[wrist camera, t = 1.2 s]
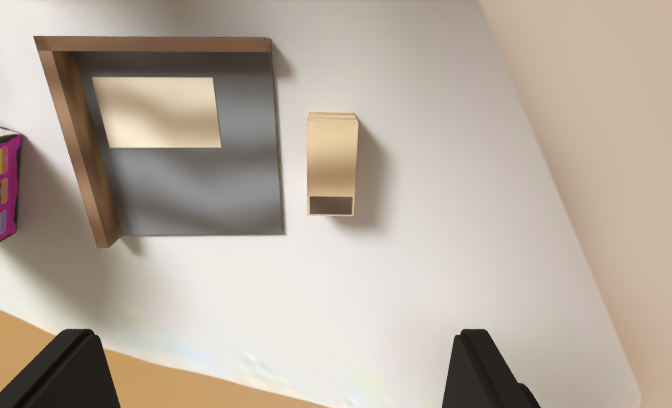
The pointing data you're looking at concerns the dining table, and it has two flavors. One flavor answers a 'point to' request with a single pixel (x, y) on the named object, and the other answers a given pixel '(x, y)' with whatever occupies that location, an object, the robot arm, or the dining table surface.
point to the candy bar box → (9, 181)
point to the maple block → (331, 163)
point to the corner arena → (168, 132)
